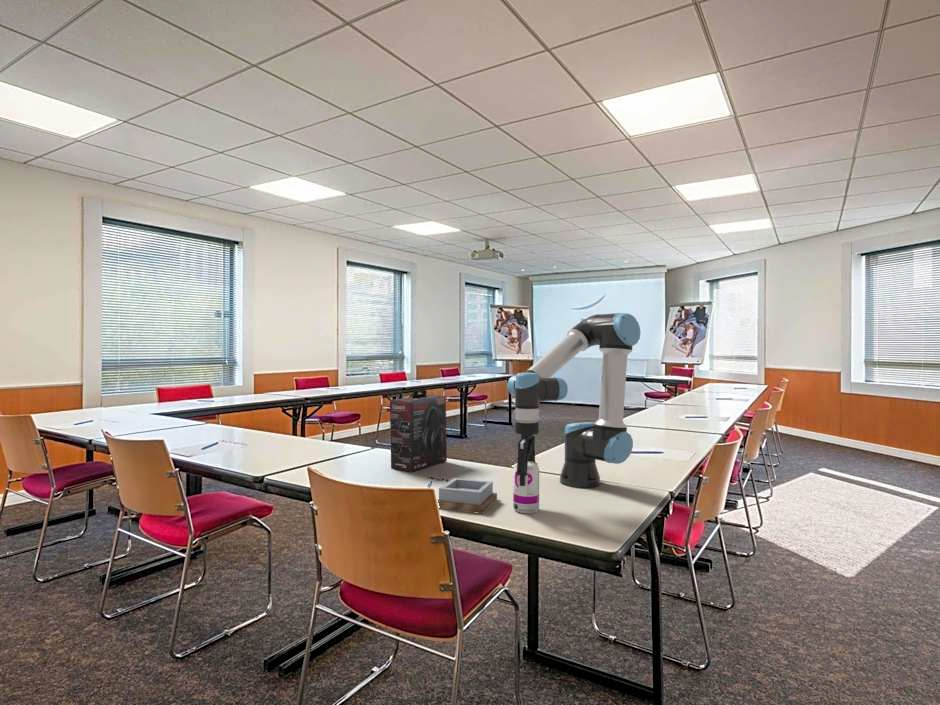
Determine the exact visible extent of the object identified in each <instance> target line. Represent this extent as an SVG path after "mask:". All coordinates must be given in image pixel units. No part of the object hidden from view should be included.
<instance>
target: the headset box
mask: <svg viewBox="0 0 940 705" xmlns="http://www.w3.org/2000/svg"><path fill="white" fill-rule="evenodd" d="M446 398H447V396H446V395H437V394H427V389H426V388H425V389H418V390H413V393H412V395H411V397H402V398H395V399H390V400H389V418H390V420H389V422H390V424H389V426H390V429H389V430H390V469H392V470H398V471H405V472H410V473H412V472H416V471H419V470H421V469H425V468H427V467H428V468H429V467H432V466H436V465H438V464H441V463H445V462H447V461H448V460H447V452H448V451H447V450H448V449H447V405H446V404H447V399H446Z"/></svg>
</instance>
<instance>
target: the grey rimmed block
mask: <svg viewBox="0 0 940 705" xmlns="http://www.w3.org/2000/svg"><path fill="white" fill-rule="evenodd" d="M493 484H494V482H493V481H491V480H490V481H488V480H477V479H469V478H468V479H466V478H457V477H454V478H452V479H450V480H449V481H448V482H446V483H444V484H443V485H442V486H440V487H439V488H438V499H439V501H447V502H456V503H465V504H474V505H481V504H482V503H483V502H484V501H485V500H486V499H487V498H488V497H489V496H490V495H492V494H493V493H494V491H493V489H494V487H493V486H494V485H493Z"/></svg>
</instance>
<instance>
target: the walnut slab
mask: <svg viewBox="0 0 940 705" xmlns="http://www.w3.org/2000/svg"><path fill="white" fill-rule="evenodd" d="M496 499H497V500H498V493H497V492H493V494H492V495H490V496H489V497H488V498H487V499H486V500H485V501H484V502H483V503H482V504H481V505H474V504H465V503H456V502H447V501H439V498H438V499H437V500H438V503H439V506H440V509H441V508H442V510H448V509H449V511H456V510H460V511H459V512H465V511H468V512H467V513H474V512H478V513H477V514H482V513H483V512H484V511H485V510H486V509H487V508H488V507H489V506H490V505H491V504H492V503H493V502H494V501H495V500H496ZM497 500H496V501H497ZM496 501H495V502H496ZM495 502H494V503H495ZM494 503H493V504H494ZM493 504H492V505H493ZM492 505H491V506H492ZM491 506H490V507H491ZM490 507H489V508H490ZM489 508H488V509H489ZM488 509H487V510H488ZM487 510H486V511H487ZM486 511H485V512H486ZM485 512H484V513H485ZM484 513H483V514H484Z"/></svg>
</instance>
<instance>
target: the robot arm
mask: <svg viewBox="0 0 940 705" xmlns="http://www.w3.org/2000/svg"><path fill="white" fill-rule="evenodd" d="M640 337H641V327H640V323H639V322H638V320H637V318H636V317H635V316H634V315H633V314H631V313H628V312H627V313H624V312H617V313H606V314H605V313H604V314H603V313H602V314H601V313H599V314H594V315H593V314H592V315H590V316H587V317H586V318H585V319H583V320H582V321H580V322H578V323H576V325H574V326H573V327H572V328H571V329H569V330H568V331H567V334H566V337H565V338H563V339H562V340H561V341H560V342H558V343H557V344H556V345H554V347H552V348H551V349H550V350H549V351H548V352H547V353H546V354H544V355H543V356H542V357H541V358H539V359H538V360H537V361H536V362H535V363H534V364H533V365H532V366H530V367H529V368H528V369H527V370H525V371H524V372H517V374H516V375H512V376H511V377H510V378H509V379H508V381H507V390H508V392H509V394H510V395H511V396H513V397H514V400H515V401H514V402H515V403H514V404H515V405H514V407H515V410H513V413H514V414H515V415H514V416H515V417H514V418H515V419H514V420H515V422H514V432H515V434H516V435H520V439H519V440H518V441H517V461H516V462H517V472H516V475H519V482H518V496H527V487H528V475H527V466H528V461H532V462H536V450H535V446H536V444H535V443H536V441H535V439H536V437H535V435H538V434H539V431H540V430H539V429H540V427H539V426H540V424H539V422H538V421H539V420H540V402H550V401H551V402H552V401H553V402H554V401H555V402H557V401H561V400H563V399H565V398H566V397H567V395H568V384H567V382H566V380H564V378H562V377H561V378H560V377H553V376H554V375H555V374H557V372H559V371H560V370H561V369H562V368H563V367H564V366H565V365H567V364H568V363H569V362H570V361H571V360H572V359H573V358H575V357H576V356H577V354H579V353H580V352H585V351H587V350H588V349H589V348H591V347H593V346H594V347H595V346H599V347H598V348H599V351H600V352H601V353H602V366H601V379H600V381H601V382H600V395H599V408H598V410H599V411H598V419H597V420H596V421H595V422H592V421H588V422H587V421H586V422H585V421H584V422H573V423H568V424H566V425H565V428H564V463H563V466H562V469H561V471H560V474H559V482H560V484H562V485H565V486H568V487H573V488H574V487H575V488H594V487H598V486H600V484H601V477H600V472H599V471H598V467H597V463H596V460H597V461H602V462H606V463H608V464H616V465H619V464H622V463H624V462H626V461H627V460H628V458H629V457H630V455H631V454H632V451H633V448H634V440H633V438H632V435H631V434H630V433H629V432H627V431H628V426H627V424H626V423H625V422H624V413H625V412H624V410H625V398H626V397H625V396H626V395H625V394H626V381H627V369H628V368H627V366H628V356H629V355H630V354H631V353H632V352H633V346H635V345H637V344H638V343H639V341H640V339H641V338H640ZM521 470H523V471H521Z"/></svg>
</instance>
